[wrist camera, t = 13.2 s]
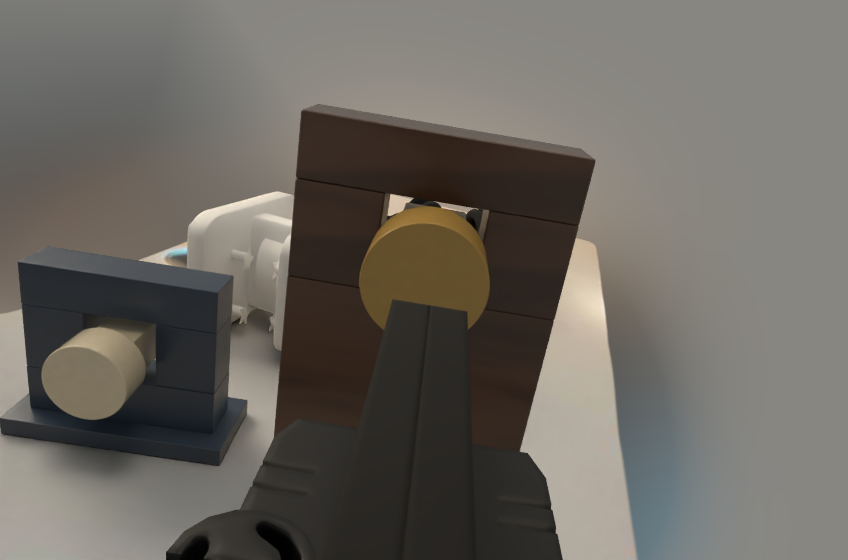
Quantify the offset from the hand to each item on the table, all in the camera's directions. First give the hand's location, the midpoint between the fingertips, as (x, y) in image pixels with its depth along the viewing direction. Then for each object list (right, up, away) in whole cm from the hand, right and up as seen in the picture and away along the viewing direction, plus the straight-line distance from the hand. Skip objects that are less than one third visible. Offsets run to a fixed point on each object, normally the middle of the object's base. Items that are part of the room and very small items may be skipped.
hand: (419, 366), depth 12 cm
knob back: (-19, -5, +26) cm, 33 cm away
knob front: (0, 0, +14) cm, 14 cm away
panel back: (-20, -8, +29) cm, 36 cm away
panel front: (-3, -14, +22) cm, 26 cm away
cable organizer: (-14, -3, +46) cm, 49 cm away
